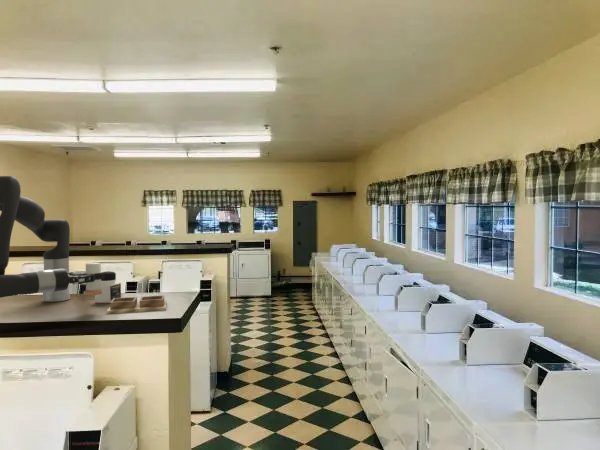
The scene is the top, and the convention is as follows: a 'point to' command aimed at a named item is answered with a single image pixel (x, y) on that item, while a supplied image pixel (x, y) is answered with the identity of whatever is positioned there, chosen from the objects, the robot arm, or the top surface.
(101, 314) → the top surface
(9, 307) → the top surface
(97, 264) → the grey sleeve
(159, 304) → the socket board
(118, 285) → the medicine bottle
